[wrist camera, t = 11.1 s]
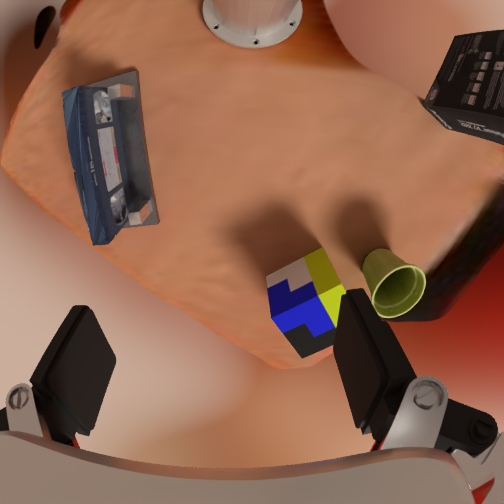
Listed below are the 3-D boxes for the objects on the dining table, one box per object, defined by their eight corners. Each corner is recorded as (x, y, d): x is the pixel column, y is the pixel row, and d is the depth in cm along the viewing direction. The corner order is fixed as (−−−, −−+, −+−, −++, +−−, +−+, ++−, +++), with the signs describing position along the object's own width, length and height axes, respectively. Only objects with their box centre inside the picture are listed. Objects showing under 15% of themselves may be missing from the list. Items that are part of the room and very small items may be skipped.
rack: (82, 88, 29) (59, 88, 24) (138, 71, 29) (121, 66, 24) (107, 227, 40) (90, 245, 35) (159, 221, 40) (148, 239, 35)
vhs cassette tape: (136, 213, 38) (109, 245, 29) (118, 215, 38) (88, 247, 29) (119, 86, 29) (82, 83, 21) (100, 91, 29) (60, 91, 21)
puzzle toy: (265, 276, 45) (271, 318, 36) (322, 246, 43) (341, 283, 34) (292, 316, 49) (302, 358, 40) (344, 290, 47) (362, 330, 38)
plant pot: (388, 227, 42) (414, 253, 34) (408, 264, 45) (432, 292, 38) (343, 261, 44) (361, 293, 37) (367, 295, 48) (385, 327, 40)
